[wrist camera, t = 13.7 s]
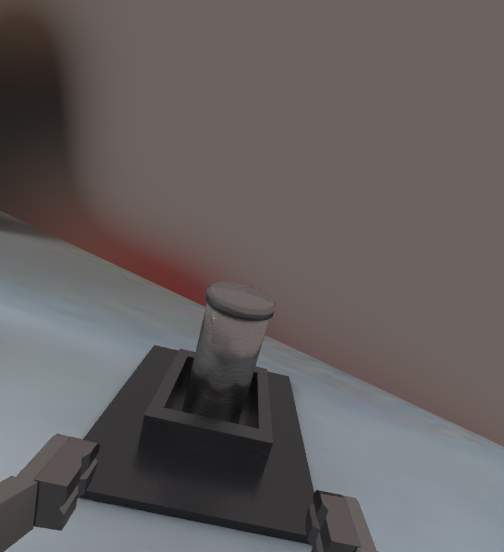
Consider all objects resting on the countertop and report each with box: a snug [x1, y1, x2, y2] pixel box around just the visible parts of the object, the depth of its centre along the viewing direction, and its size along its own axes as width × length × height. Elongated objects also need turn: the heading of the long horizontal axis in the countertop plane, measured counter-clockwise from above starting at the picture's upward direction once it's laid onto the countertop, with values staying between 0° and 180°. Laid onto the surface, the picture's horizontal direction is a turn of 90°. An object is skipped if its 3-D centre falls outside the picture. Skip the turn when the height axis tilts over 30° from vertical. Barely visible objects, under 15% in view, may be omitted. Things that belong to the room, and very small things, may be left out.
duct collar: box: [80, 345, 314, 544], centre depth 23 cm, size 16×16×3 cm
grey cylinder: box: [183, 282, 276, 424], centre depth 22 cm, size 5×5×11 cm
